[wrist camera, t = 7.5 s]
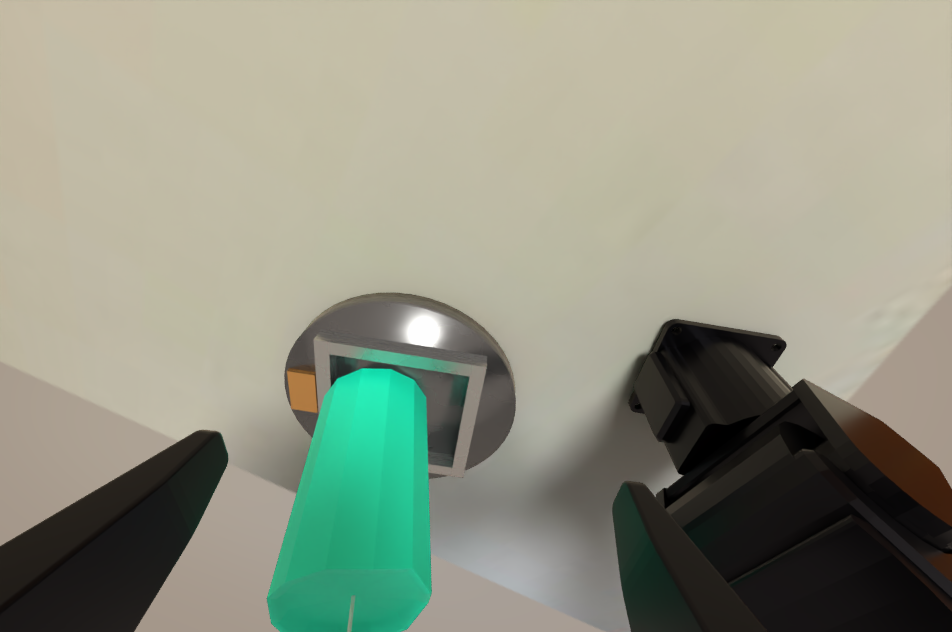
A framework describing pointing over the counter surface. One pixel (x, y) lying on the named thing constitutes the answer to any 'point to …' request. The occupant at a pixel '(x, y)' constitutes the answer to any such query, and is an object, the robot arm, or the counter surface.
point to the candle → (359, 513)
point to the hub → (412, 370)
